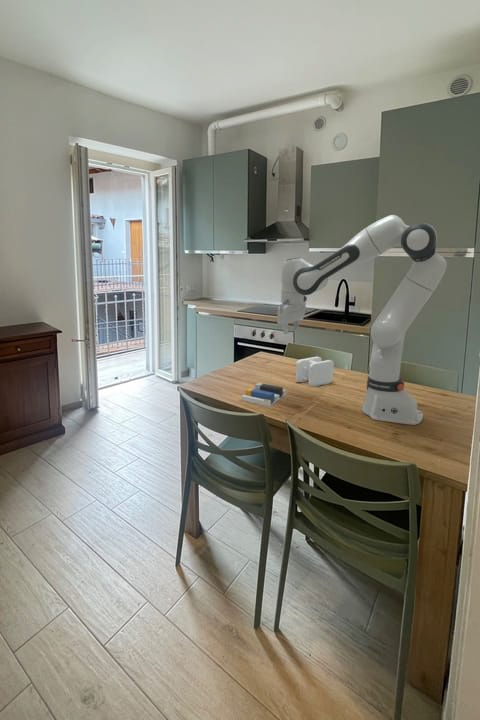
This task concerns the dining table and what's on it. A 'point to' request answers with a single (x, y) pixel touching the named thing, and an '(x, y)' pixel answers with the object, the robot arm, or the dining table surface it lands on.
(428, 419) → the dining table surface
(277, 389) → the dark grey square rod
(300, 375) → the cable organizer
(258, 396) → the blue bar yellow end
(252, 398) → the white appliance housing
